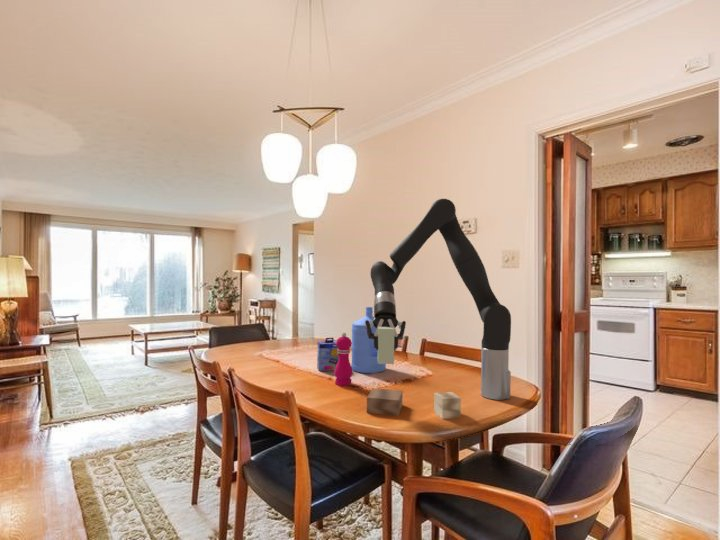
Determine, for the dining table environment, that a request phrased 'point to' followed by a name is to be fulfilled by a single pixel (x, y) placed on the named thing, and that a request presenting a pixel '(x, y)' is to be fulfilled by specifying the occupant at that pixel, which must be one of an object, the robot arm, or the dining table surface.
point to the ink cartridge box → (327, 355)
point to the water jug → (364, 347)
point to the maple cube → (447, 405)
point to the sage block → (385, 345)
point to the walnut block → (384, 402)
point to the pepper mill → (343, 362)
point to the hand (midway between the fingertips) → (386, 348)
